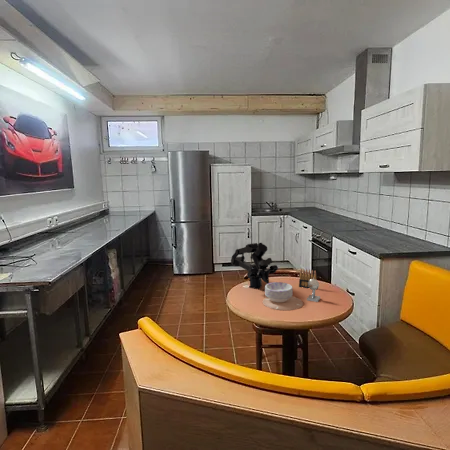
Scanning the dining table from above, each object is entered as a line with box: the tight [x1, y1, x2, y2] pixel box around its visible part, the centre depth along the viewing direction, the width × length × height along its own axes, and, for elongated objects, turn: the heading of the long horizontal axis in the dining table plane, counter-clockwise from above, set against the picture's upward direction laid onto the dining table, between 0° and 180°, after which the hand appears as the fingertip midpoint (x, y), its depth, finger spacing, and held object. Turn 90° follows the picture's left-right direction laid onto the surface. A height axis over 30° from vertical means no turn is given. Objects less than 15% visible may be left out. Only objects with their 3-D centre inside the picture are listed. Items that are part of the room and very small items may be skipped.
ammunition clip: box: [298, 268, 317, 289], centre depth 205 cm, size 11×2×12 cm, turn 59°
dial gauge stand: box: [306, 278, 321, 303], centre depth 186 cm, size 6×6×12 cm
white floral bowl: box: [264, 281, 294, 303], centre depth 186 cm, size 15×15×8 cm
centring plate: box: [262, 295, 304, 311], centre depth 183 cm, size 22×22×1 cm
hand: (268, 283), depth 195 cm, fingers closed
